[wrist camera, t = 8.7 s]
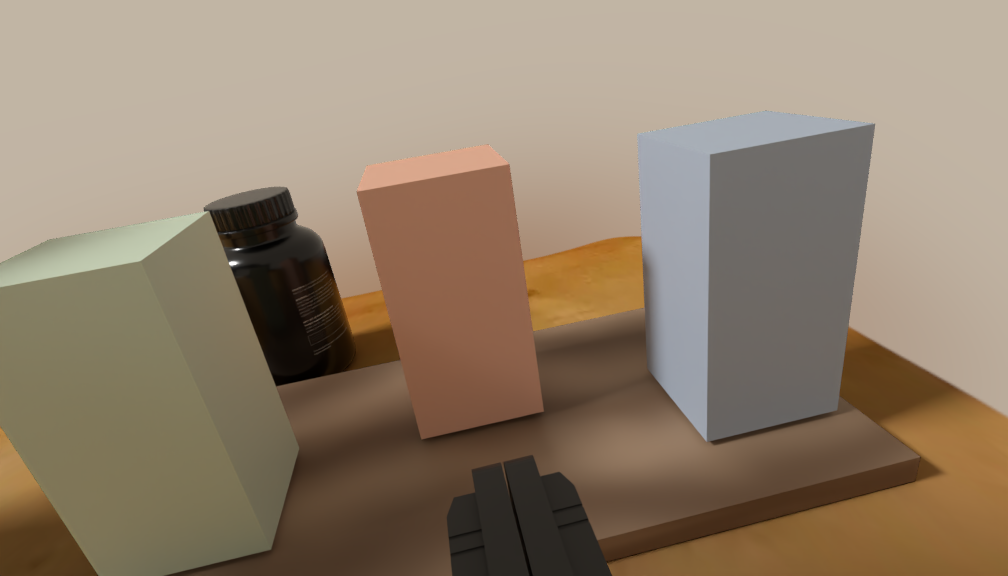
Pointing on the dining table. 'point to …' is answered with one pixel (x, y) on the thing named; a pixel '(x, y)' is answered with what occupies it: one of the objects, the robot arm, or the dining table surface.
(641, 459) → the wooden board
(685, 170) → the slate block
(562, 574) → the robot arm
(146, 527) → the sage block
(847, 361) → the dining table surface
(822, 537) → the dining table surface
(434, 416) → the terracotta block
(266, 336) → the supplement bottle
